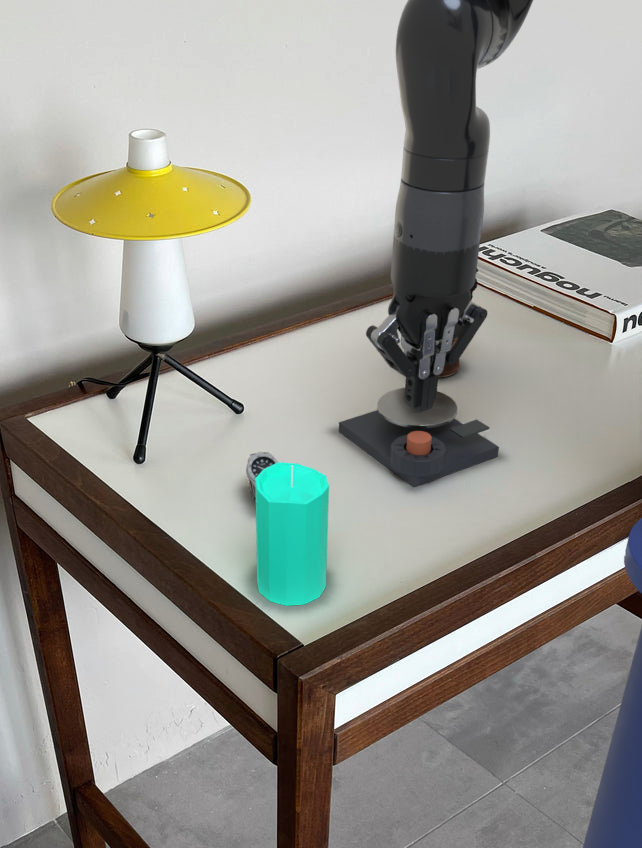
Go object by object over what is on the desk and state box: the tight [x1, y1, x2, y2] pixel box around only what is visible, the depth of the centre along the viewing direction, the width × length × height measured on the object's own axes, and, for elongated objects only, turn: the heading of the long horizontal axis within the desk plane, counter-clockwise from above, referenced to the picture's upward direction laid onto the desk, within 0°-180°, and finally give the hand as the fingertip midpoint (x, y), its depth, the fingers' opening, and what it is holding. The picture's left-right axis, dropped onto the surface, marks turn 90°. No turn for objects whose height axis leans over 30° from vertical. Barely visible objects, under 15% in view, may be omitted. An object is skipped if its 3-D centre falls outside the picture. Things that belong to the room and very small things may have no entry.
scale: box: [338, 409, 500, 488], centre depth 106 cm, size 14×12×3 cm
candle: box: [255, 461, 330, 607], centre depth 84 cm, size 6×6×12 cm
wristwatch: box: [245, 451, 279, 505], centre depth 97 cm, size 4×6×5 cm, turn 12°
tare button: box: [406, 431, 432, 455], centre depth 100 cm, size 2×2×2 cm
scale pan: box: [376, 387, 491, 438], centre depth 106 cm, size 12×8×1 cm
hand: (419, 407), depth 98 cm, fingers closed
